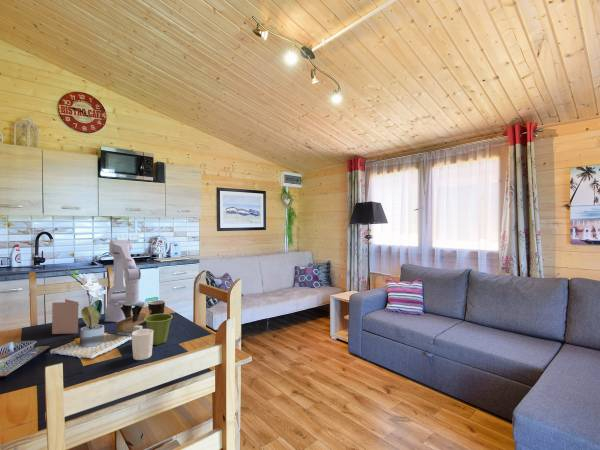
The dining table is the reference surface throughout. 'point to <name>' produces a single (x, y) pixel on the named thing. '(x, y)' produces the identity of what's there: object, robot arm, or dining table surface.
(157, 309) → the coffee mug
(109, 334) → the dining table surface
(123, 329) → the walnut bar
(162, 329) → the plant pot
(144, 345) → the white cup
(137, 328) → the fulcrum
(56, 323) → the greeting card
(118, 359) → the dining table surface
